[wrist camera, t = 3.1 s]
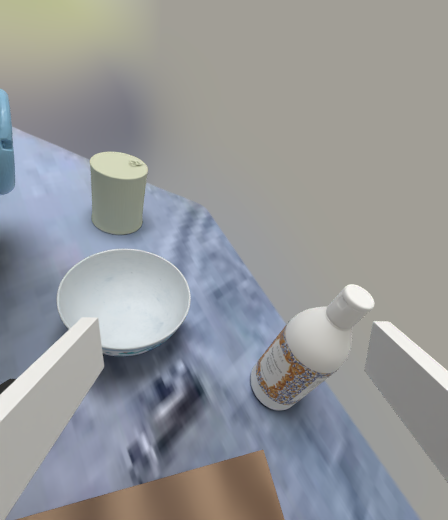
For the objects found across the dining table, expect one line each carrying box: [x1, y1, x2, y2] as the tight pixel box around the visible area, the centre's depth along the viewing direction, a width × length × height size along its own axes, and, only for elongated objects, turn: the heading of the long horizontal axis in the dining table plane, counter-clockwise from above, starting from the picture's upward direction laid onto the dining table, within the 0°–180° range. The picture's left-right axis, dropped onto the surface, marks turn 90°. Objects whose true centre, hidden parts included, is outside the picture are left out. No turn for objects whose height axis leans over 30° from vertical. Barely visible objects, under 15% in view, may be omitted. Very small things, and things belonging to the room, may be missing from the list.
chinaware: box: [57, 249, 190, 356], centre depth 35 cm, size 15×15×8 cm
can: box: [90, 152, 148, 235], centre depth 49 cm, size 9×9×12 cm
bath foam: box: [251, 284, 374, 410], centre depth 31 cm, size 7×7×20 cm
